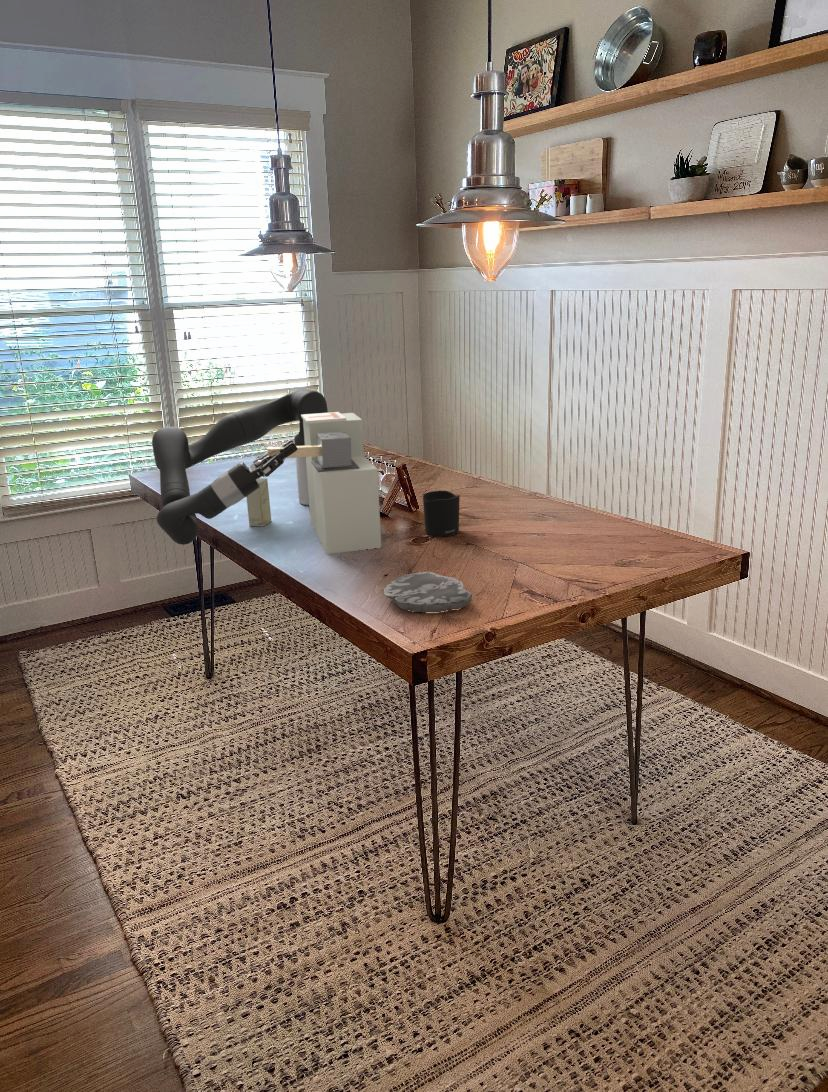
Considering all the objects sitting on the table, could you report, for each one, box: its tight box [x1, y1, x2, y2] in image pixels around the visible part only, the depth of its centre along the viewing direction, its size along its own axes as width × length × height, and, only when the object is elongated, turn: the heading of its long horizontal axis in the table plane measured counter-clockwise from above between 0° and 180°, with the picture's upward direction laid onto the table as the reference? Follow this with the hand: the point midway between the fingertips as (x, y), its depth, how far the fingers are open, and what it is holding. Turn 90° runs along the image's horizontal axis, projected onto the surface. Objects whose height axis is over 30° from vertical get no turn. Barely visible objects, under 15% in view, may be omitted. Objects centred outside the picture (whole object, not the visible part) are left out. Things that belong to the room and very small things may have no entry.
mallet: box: [266, 432, 352, 468], centre depth 207 cm, size 20×9×7 cm, turn 105°
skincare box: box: [245, 477, 272, 527], centre depth 233 cm, size 6×4×12 cm
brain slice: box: [382, 571, 473, 613], centre depth 175 cm, size 20×17×3 cm
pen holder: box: [422, 490, 461, 537], centre depth 220 cm, size 9×9×10 cm
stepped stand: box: [301, 411, 382, 555], centre depth 217 cm, size 14×28×30 cm, turn 15°
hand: (294, 444), depth 205 cm, fingers closed on mallet, 2 cm apart
